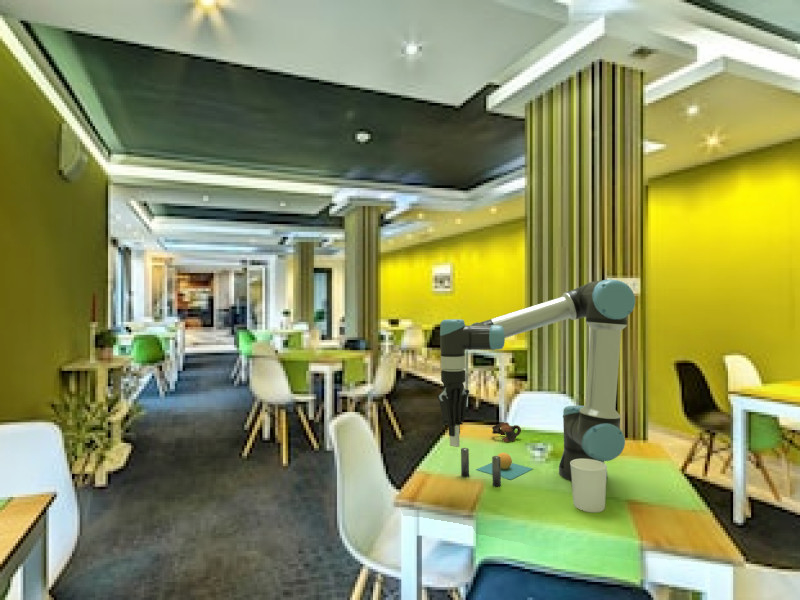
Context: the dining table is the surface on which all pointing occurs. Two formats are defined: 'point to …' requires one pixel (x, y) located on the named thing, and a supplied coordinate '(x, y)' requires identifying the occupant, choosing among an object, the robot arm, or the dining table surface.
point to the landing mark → (507, 470)
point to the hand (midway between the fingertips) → (454, 445)
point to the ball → (505, 460)
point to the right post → (496, 471)
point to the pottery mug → (506, 431)
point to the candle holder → (588, 484)
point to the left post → (464, 462)
